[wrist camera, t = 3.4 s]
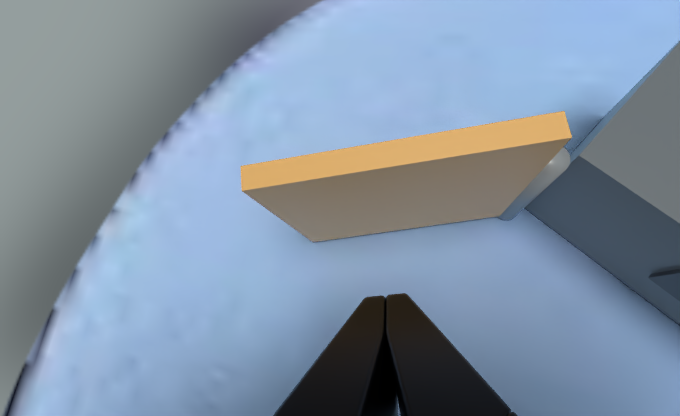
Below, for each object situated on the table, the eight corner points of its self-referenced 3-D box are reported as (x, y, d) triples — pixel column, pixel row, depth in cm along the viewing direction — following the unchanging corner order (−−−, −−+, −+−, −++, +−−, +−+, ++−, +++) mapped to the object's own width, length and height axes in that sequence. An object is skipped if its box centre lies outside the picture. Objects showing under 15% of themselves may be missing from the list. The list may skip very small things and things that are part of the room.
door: (514, 196, 18) (602, 98, 10) (520, 218, 17) (615, 136, 9) (313, 225, 19) (240, 161, 11) (315, 246, 18) (241, 196, 10)
